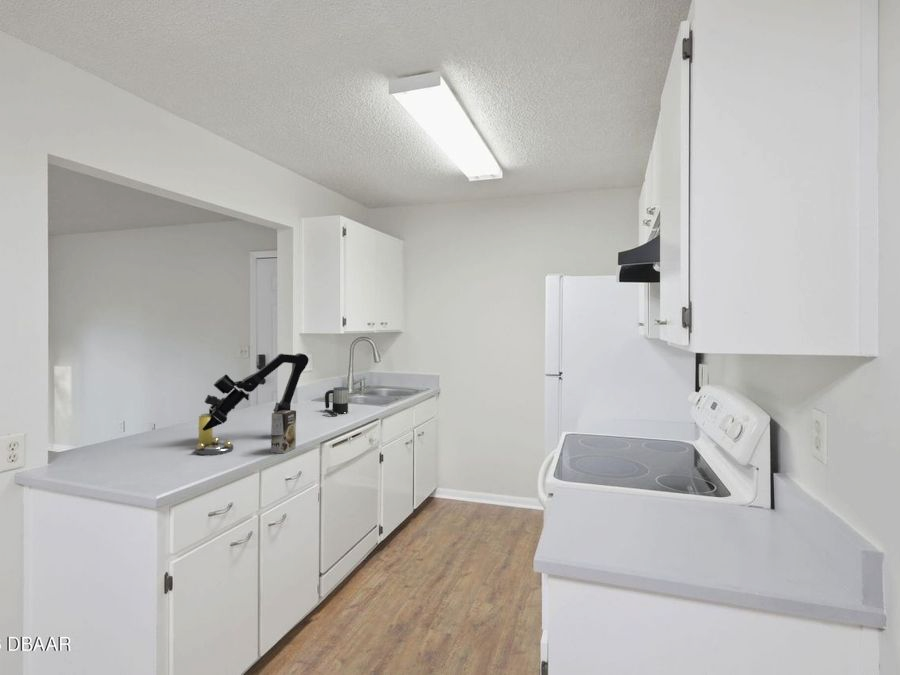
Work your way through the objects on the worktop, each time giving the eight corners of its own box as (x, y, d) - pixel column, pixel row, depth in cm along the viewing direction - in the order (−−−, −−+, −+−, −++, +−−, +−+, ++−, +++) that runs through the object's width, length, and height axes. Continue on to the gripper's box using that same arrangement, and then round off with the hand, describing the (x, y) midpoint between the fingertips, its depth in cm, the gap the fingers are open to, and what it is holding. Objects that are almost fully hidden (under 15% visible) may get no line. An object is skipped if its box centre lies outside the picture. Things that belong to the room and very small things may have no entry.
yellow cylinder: (215, 442, 207) (215, 413, 207) (206, 445, 202) (206, 415, 202) (204, 442, 208) (204, 412, 208) (195, 444, 203) (196, 415, 203)
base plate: (222, 444, 204) (222, 435, 204) (240, 450, 196) (240, 440, 196) (188, 451, 193) (188, 441, 193) (205, 457, 185) (205, 447, 185)
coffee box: (284, 453, 192) (285, 414, 192) (270, 452, 194) (270, 413, 193) (296, 448, 201) (296, 410, 201) (282, 447, 203) (283, 409, 202)
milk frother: (347, 411, 287) (348, 386, 287) (350, 416, 272) (351, 390, 272) (323, 412, 283) (323, 387, 282) (325, 417, 268) (325, 390, 267)
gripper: (215, 385, 215) (187, 411, 209) (218, 391, 198) (188, 419, 193) (234, 402, 219) (207, 428, 214) (238, 409, 202) (209, 437, 197)
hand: (202, 427), depth 204 cm, fingers open, 9 cm apart
